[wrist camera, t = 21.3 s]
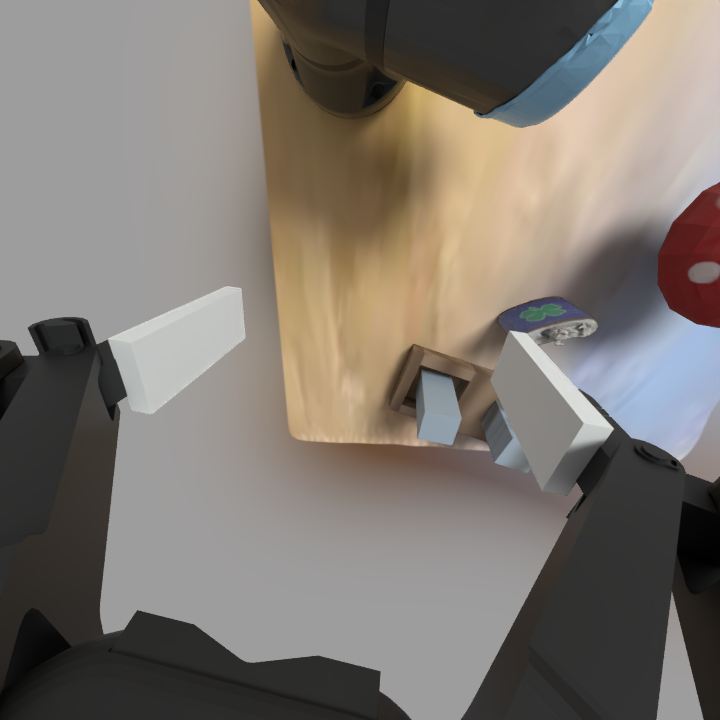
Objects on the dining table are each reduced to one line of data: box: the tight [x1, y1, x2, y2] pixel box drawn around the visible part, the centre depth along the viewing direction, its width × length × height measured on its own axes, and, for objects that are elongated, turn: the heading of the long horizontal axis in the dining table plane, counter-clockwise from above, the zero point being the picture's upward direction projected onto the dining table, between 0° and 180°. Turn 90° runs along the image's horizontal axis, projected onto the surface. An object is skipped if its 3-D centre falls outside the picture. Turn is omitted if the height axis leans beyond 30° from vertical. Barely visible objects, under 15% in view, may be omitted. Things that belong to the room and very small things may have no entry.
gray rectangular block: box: [416, 369, 462, 445], centre depth 46 cm, size 5×5×12 cm
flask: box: [498, 296, 598, 346], centre depth 39 cm, size 9×3×11 cm, turn 110°
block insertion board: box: [389, 344, 531, 473], centre depth 46 cm, size 24×12×12 cm, turn 73°
